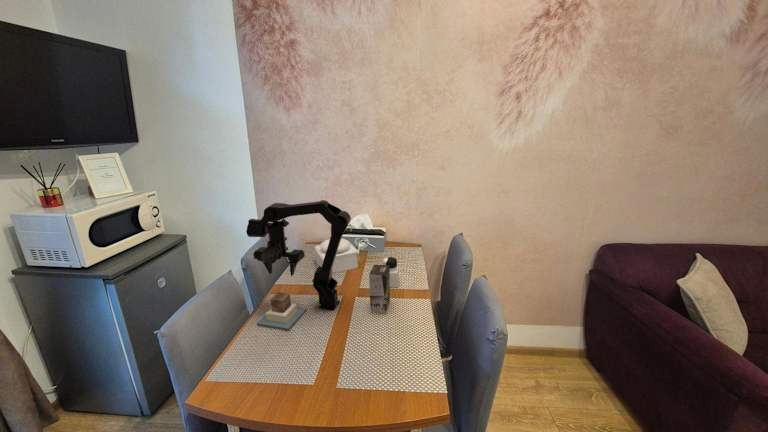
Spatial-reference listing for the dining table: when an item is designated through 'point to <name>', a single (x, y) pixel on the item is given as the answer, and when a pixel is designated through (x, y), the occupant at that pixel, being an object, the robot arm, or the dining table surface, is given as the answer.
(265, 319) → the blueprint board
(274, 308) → the walnut block
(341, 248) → the white square box
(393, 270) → the medicine bottle
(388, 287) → the coffee box
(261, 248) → the robot arm
